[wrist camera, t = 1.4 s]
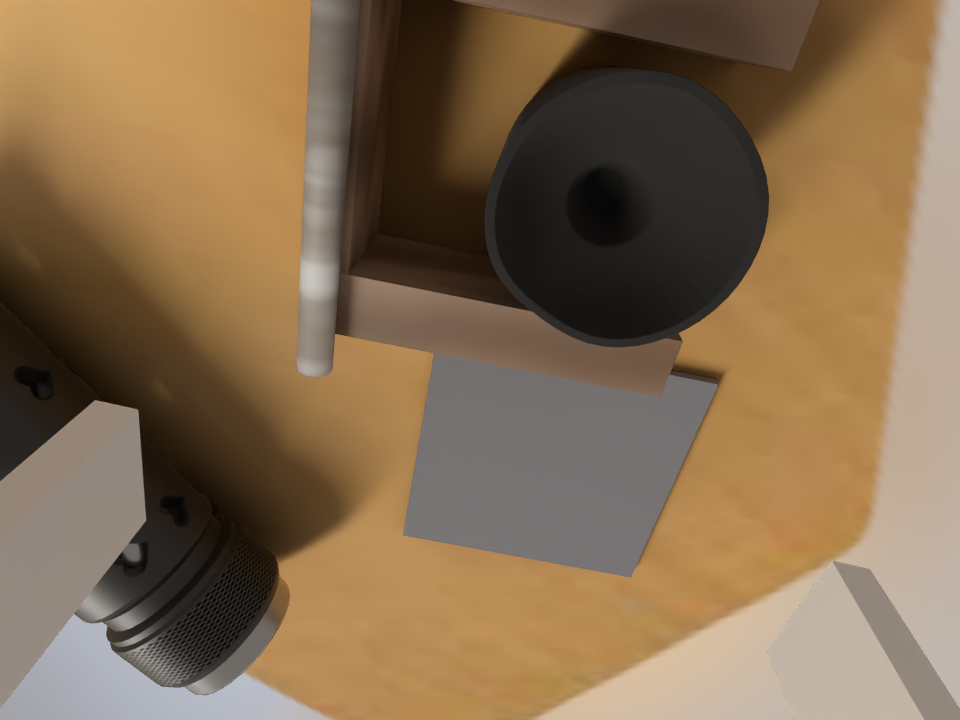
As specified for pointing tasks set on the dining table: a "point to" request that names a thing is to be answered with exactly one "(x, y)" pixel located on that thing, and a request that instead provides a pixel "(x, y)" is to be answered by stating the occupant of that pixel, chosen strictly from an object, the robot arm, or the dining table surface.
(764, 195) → the pen holder
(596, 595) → the dining table surface
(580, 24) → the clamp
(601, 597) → the dining table surface
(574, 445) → the mat
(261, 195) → the dining table surface
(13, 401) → the muzzle brake
